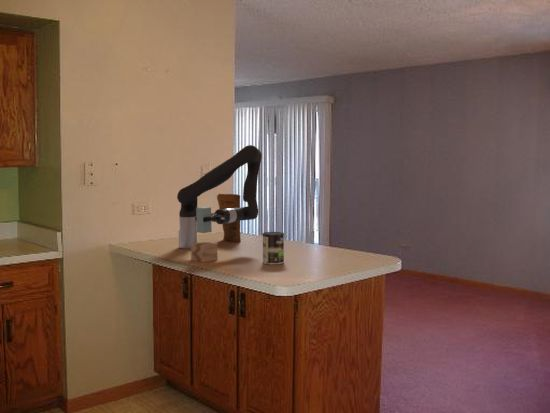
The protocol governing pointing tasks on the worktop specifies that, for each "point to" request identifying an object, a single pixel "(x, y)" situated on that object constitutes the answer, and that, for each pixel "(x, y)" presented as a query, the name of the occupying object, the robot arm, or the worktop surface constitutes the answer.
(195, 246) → the block
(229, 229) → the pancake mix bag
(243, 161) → the robot arm
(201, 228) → the post
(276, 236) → the coffee can
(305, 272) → the worktop surface
